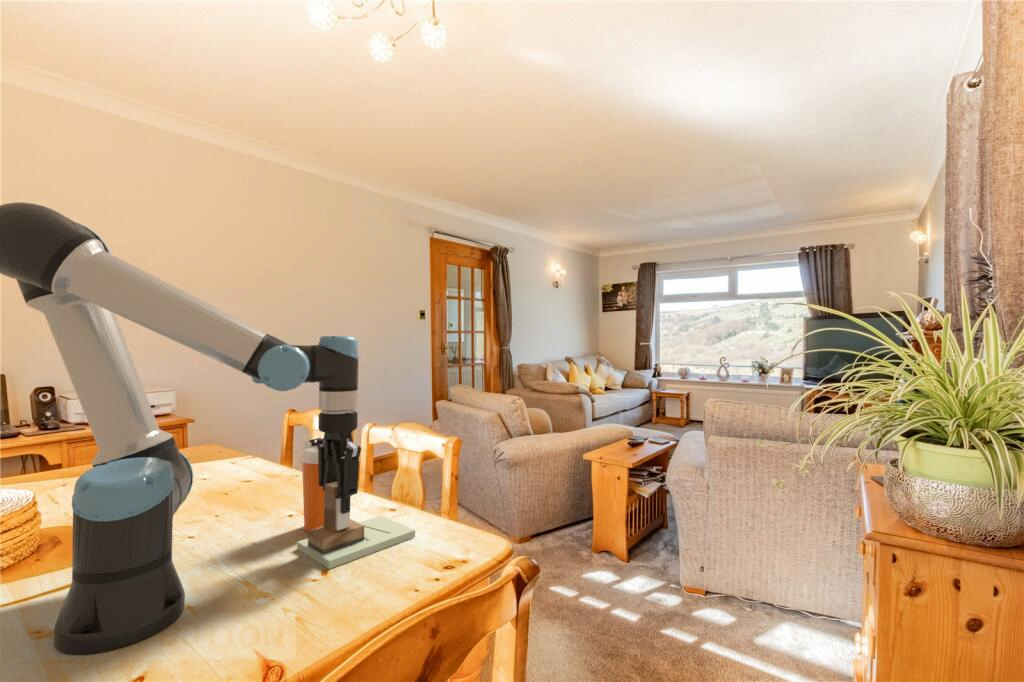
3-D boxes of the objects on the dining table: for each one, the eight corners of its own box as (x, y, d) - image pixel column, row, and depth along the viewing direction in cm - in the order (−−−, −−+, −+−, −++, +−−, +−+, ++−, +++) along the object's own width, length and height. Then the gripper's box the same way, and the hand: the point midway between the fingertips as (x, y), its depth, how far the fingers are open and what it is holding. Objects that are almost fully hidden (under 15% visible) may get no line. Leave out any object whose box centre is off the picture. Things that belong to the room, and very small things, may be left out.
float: (322, 554, 91) (324, 491, 92) (307, 545, 95) (309, 485, 95) (364, 540, 98) (365, 482, 98) (348, 532, 102) (349, 476, 102)
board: (329, 569, 89) (329, 560, 89) (297, 549, 97) (297, 541, 97) (415, 536, 104) (415, 529, 104) (380, 522, 112) (381, 515, 112)
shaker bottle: (327, 536, 104) (328, 445, 104) (291, 532, 105) (292, 443, 105) (349, 521, 112) (350, 437, 112) (315, 518, 114) (316, 435, 114)
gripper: (377, 413, 94) (376, 530, 94) (334, 405, 105) (333, 511, 105) (342, 417, 89) (341, 542, 89) (301, 408, 100) (299, 520, 99)
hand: (337, 525), depth 97 cm, fingers closed on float, 4 cm apart
